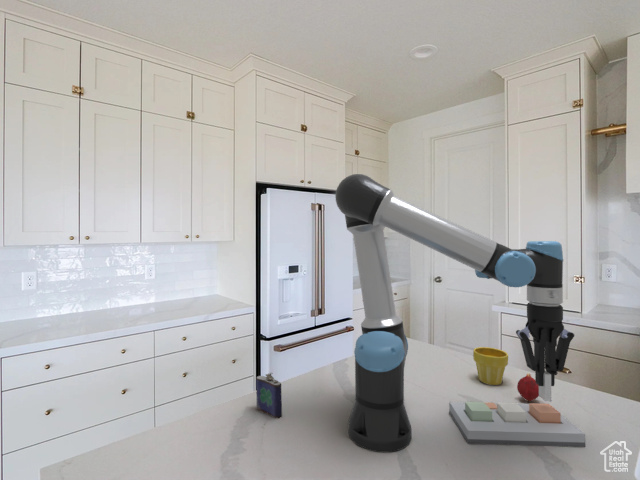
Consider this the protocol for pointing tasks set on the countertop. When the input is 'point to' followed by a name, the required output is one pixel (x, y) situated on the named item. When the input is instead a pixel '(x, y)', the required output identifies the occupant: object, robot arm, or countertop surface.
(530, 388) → the onion
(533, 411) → the key terracotta
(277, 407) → the flask
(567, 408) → the countertop surface
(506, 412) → the key offwhite
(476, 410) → the key sage
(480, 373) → the plant pot
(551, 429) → the keypad
